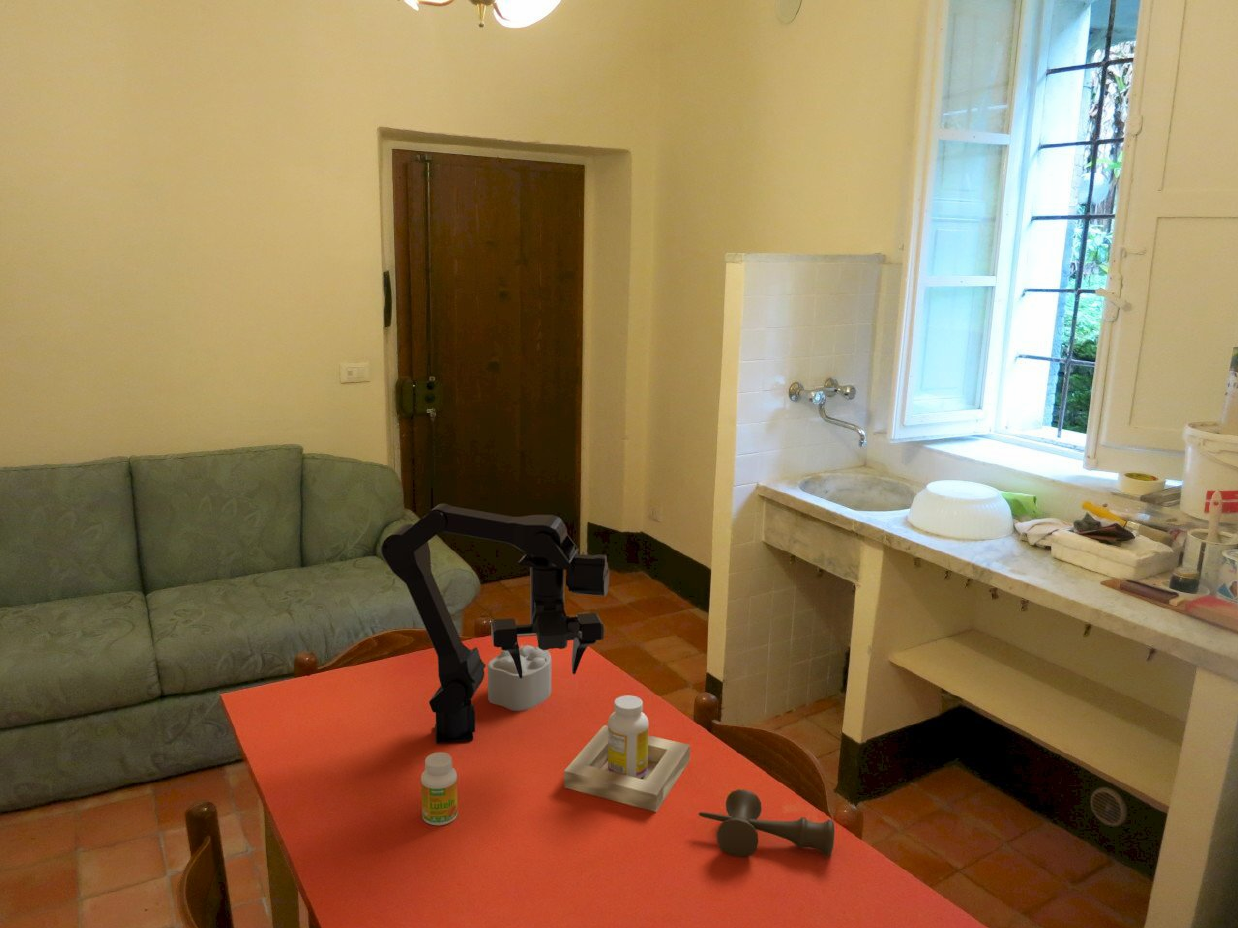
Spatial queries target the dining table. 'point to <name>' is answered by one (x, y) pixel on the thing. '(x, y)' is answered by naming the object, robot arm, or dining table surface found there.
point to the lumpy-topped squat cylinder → (517, 691)
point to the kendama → (765, 827)
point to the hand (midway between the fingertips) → (547, 675)
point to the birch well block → (642, 793)
